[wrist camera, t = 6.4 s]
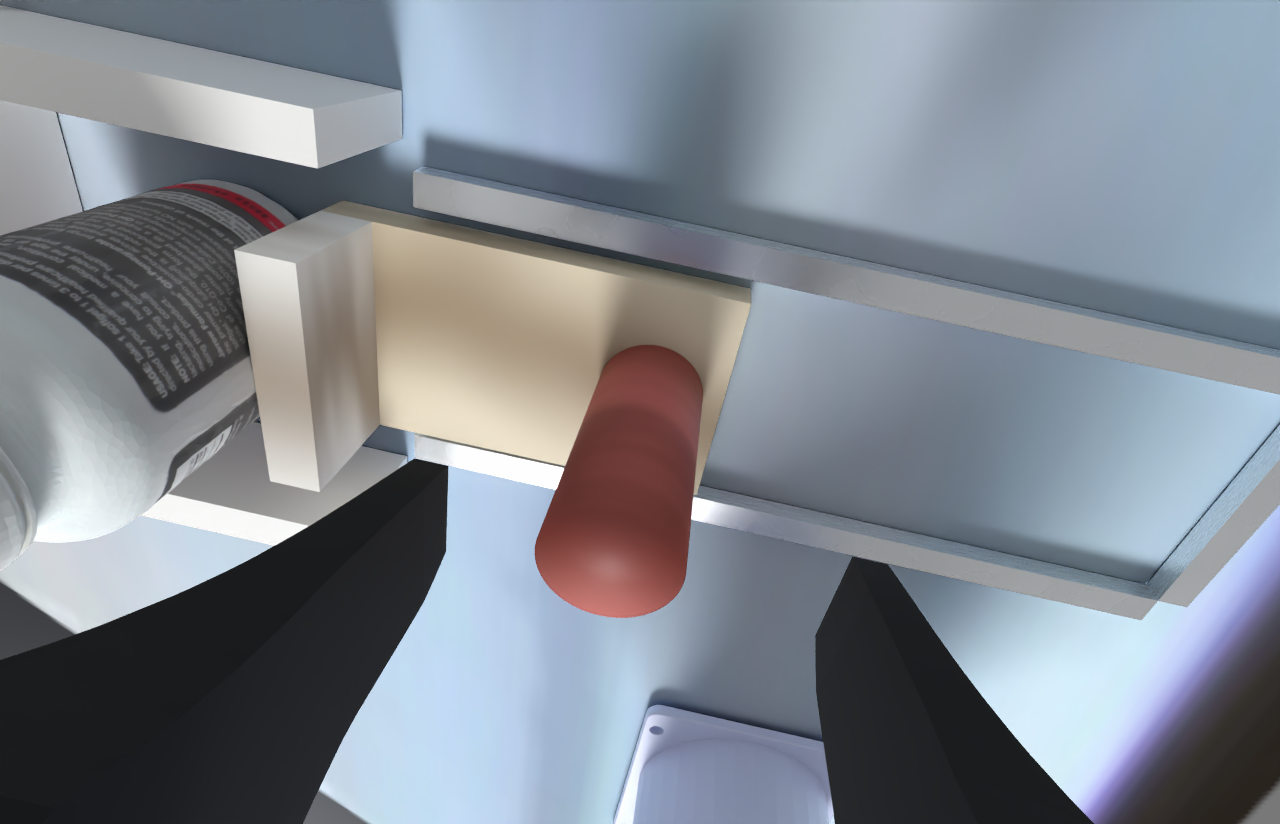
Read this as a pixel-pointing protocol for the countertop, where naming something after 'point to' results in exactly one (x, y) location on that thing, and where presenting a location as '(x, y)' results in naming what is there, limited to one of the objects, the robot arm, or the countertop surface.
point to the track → (1199, 557)
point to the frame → (204, 113)
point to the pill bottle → (121, 356)
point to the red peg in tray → (500, 376)
